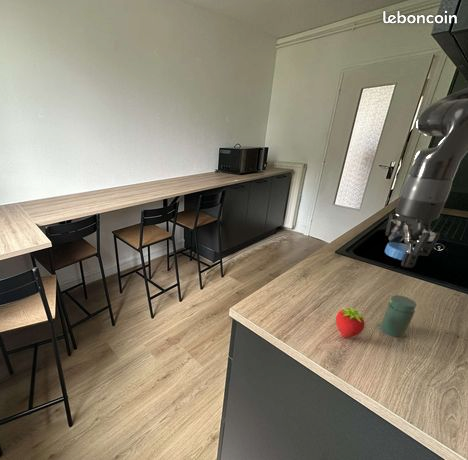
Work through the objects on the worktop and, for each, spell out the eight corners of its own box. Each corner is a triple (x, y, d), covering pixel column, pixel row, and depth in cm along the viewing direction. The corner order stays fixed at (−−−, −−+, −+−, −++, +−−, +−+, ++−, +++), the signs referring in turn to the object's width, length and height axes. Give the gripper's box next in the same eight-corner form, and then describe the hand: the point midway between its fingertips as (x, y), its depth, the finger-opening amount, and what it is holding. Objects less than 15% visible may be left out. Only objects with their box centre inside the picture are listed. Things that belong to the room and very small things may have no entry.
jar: (392, 323, 70) (404, 294, 66) (409, 337, 66) (423, 306, 62) (374, 324, 70) (385, 295, 66) (390, 338, 65) (403, 307, 62)
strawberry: (357, 331, 68) (367, 301, 64) (359, 351, 62) (371, 320, 58) (331, 324, 71) (339, 294, 67) (331, 342, 65) (340, 311, 61)
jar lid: (411, 253, 65) (415, 245, 64) (418, 263, 60) (423, 255, 59) (382, 247, 67) (385, 240, 66) (387, 257, 63) (390, 249, 62)
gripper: (385, 188, 65) (367, 246, 71) (425, 204, 52) (398, 274, 58) (420, 189, 63) (398, 248, 70) (470, 206, 50) (437, 277, 57)
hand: (398, 260), depth 64 cm, fingers closed on jar lid, 6 cm apart
